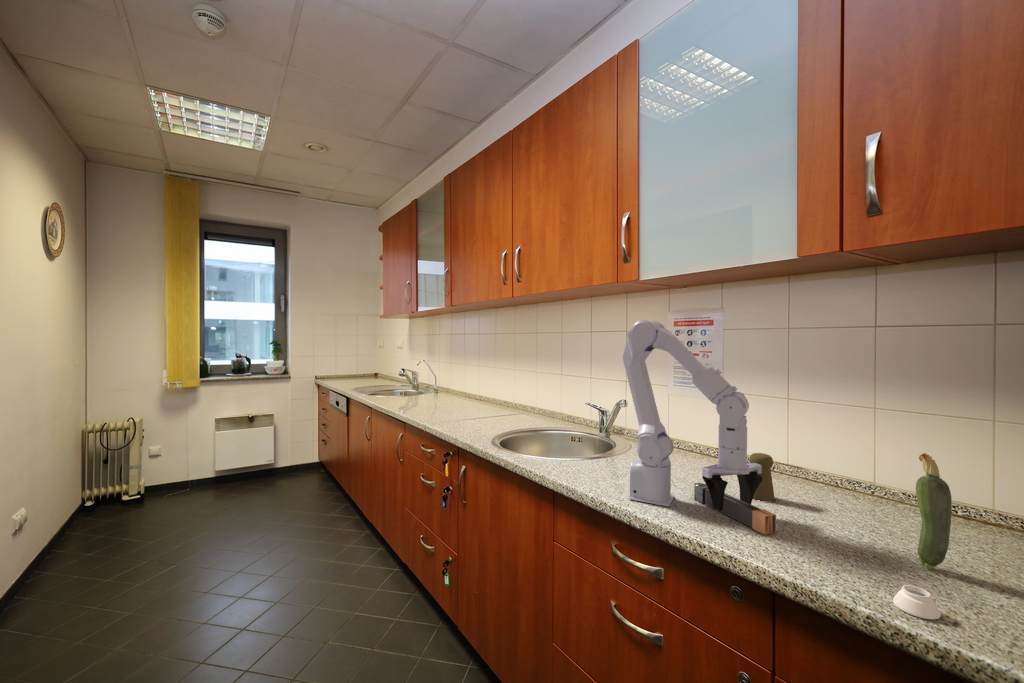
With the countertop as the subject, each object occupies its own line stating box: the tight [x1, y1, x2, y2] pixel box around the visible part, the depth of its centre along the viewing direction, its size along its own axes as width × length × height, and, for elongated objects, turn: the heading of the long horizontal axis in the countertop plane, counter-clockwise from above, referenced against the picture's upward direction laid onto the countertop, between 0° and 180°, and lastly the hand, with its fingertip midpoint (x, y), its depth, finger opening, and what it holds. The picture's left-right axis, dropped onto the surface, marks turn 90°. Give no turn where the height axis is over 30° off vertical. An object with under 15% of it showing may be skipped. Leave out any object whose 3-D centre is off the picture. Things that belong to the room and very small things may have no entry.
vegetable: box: [915, 452, 952, 570], centre depth 74 cm, size 4×4×20 cm
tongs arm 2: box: [724, 493, 777, 534], centre depth 96 cm, size 17×1×4 cm, turn 17°
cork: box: [748, 452, 775, 502], centre depth 109 cm, size 6×6×11 cm
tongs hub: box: [693, 482, 708, 505], centre depth 106 cm, size 4×3×4 cm
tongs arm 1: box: [704, 489, 770, 535], centre depth 95 cm, size 17×1×4 cm, turn 17°
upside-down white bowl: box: [892, 584, 942, 620], centre depth 63 cm, size 5×3×5 cm
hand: (731, 507), depth 97 cm, fingers open, 7 cm apart
